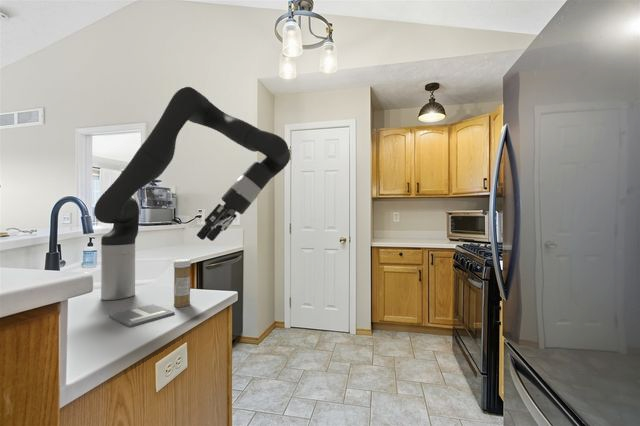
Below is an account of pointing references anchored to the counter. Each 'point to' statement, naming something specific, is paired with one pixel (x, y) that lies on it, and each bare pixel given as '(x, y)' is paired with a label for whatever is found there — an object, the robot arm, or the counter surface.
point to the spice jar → (182, 282)
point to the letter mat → (141, 315)
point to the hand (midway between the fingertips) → (204, 238)
